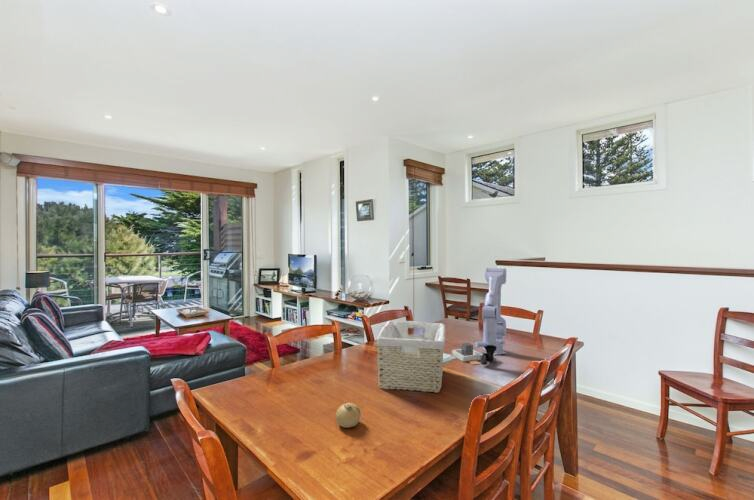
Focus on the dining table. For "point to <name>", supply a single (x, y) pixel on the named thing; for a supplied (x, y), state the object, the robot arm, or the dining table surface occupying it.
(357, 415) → the onion
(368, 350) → the dining table surface
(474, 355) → the tray
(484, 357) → the crank
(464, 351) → the stop block
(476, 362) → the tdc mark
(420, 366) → the basket
